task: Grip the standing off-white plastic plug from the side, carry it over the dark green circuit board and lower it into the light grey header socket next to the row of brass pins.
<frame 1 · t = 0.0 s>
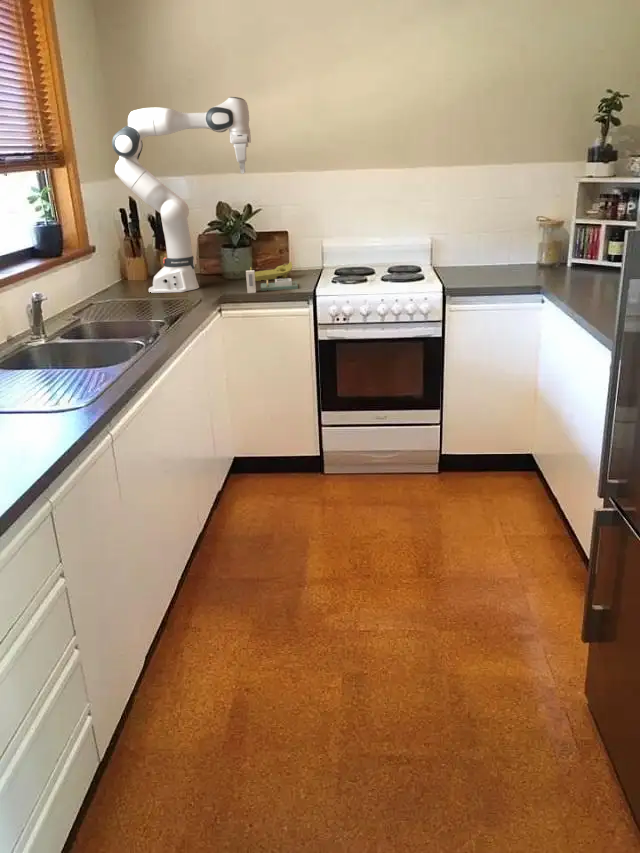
hand: (242, 173, 315), 48 cm above the countertop, tool pointing down, fingers open, 8 cm apart
plastic component: (271, 279, 346), on the countertop
plug: (251, 292, 316), on the countertop
board: (279, 287, 323), on the countertop
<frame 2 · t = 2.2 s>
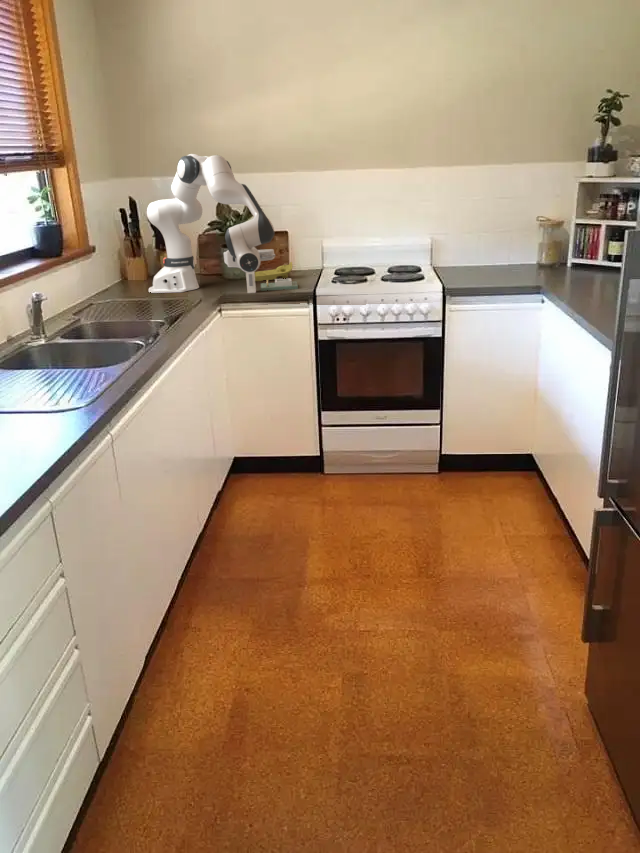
hand: (249, 253, 298), 18 cm above the countertop, tool horizontal, fingers open, 8 cm apart
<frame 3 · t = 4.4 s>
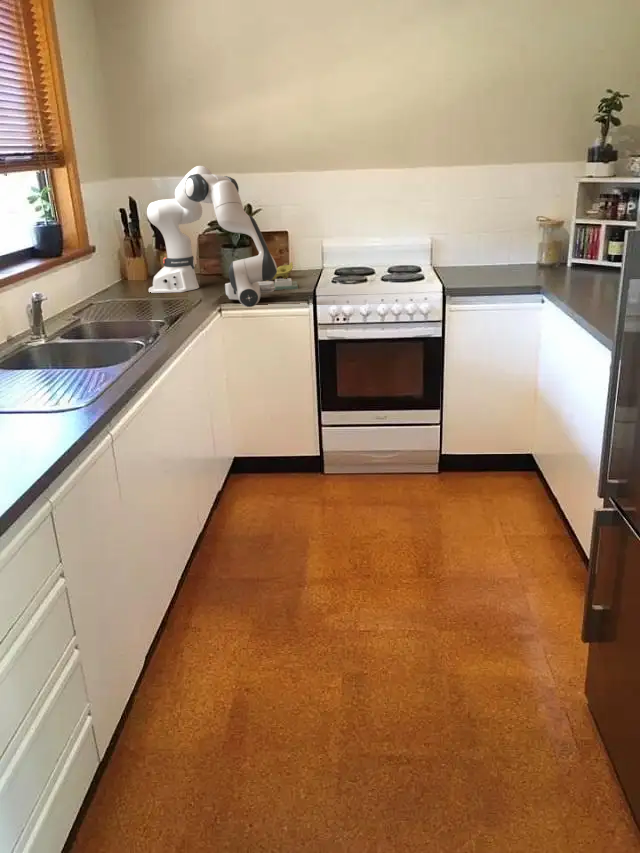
hand: (250, 284, 306), 5 cm above the countertop, tool horizontal, fingers open, 8 cm apart
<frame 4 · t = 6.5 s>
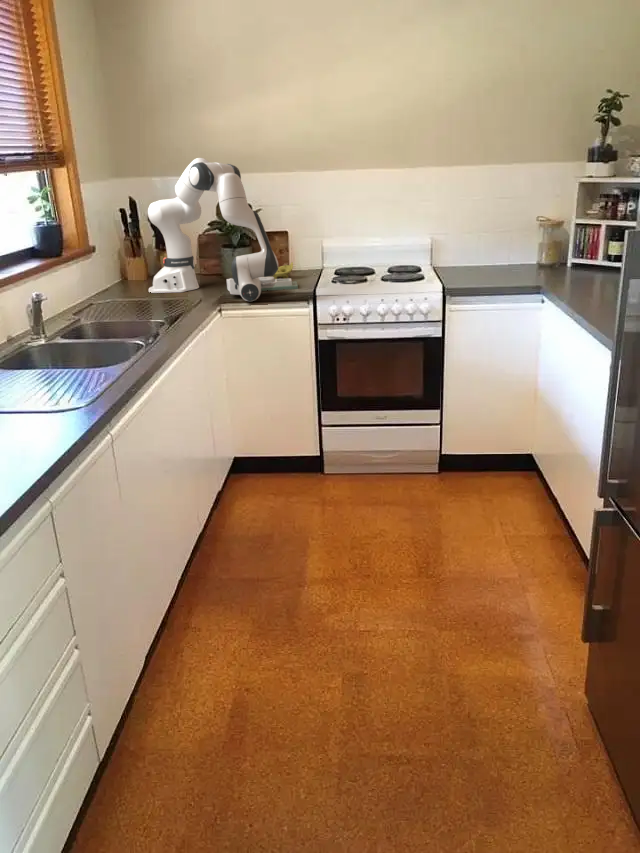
hand: (250, 279, 315), 5 cm above the countertop, tool horizontal, fingers closed on plug, 4 cm apart
plug: (251, 292, 316), on the countertop, touching gripper
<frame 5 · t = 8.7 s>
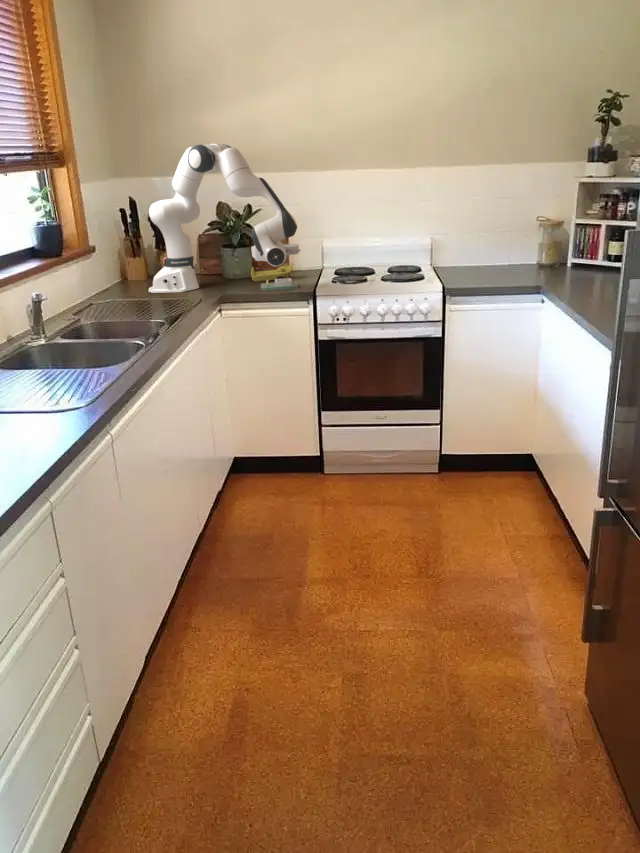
hand: (275, 248, 316), 17 cm above the countertop, tool horizontal, fingers closed on plug, 4 cm apart
plug: (275, 260, 317), point 12 cm above the countertop, touching gripper
when the fingers open (8 cm above the countertop, at t = 11.0 s): plug drops 2 cm, resting on board.
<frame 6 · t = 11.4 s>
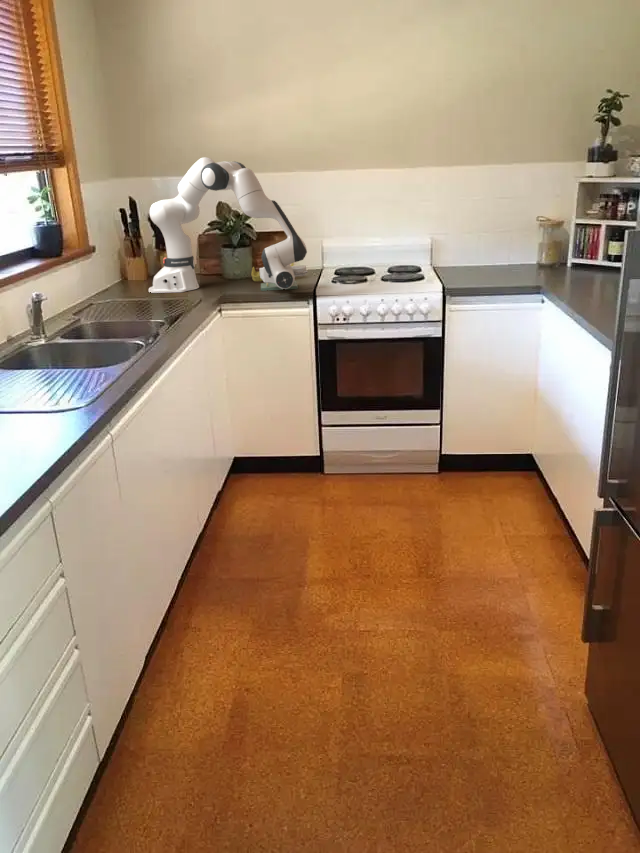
hand: (282, 268, 321), 8 cm above the countertop, tool horizontal, fingers open, 8 cm apart
plug: (283, 284, 322), point 1 cm above the countertop, touching board
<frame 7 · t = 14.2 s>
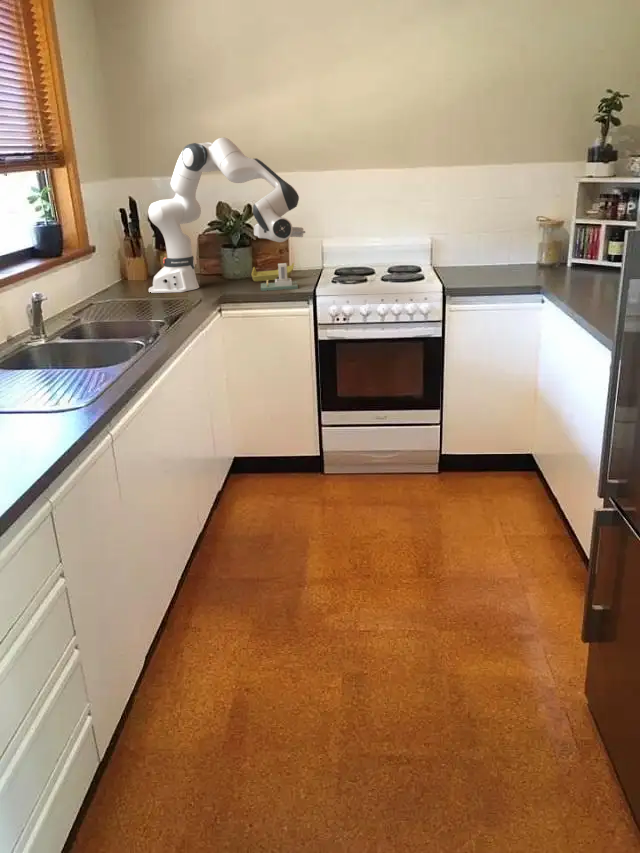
hand: (277, 232, 304), 25 cm above the countertop, tool horizontal, fingers open, 8 cm apart
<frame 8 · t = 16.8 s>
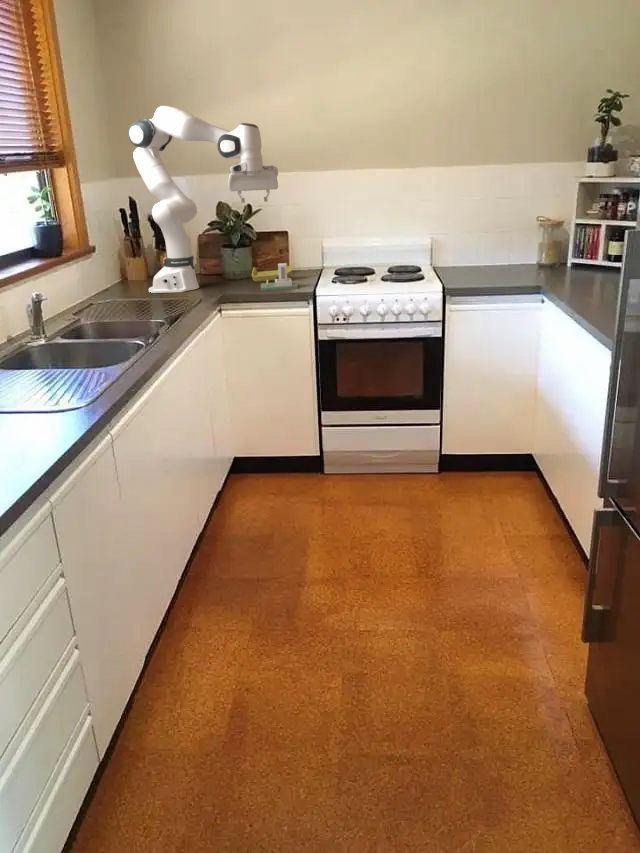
hand: (254, 202, 301), 37 cm above the countertop, tool pointing down, fingers open, 8 cm apart
at the end: plug 0.0 cm from the target spot on the board, point 1.2 cm above the board's base; plug tilted 0°; the gripper is holding nothing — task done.
